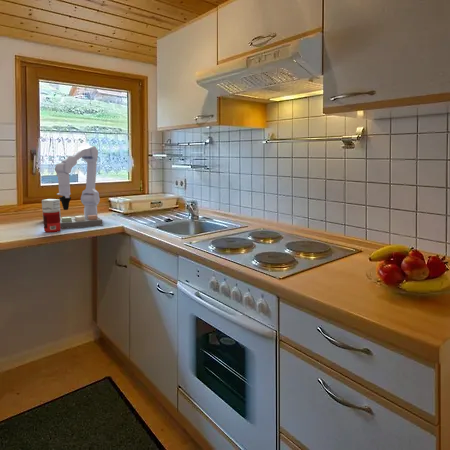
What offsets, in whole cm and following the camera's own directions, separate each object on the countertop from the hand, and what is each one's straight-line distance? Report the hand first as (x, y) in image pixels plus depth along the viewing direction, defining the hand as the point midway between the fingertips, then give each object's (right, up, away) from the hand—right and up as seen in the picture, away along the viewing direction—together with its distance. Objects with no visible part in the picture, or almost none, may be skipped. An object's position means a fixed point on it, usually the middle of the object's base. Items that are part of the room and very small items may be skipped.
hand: (65, 209), depth 217 cm
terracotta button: (+12, -6, +9) cm, 16 cm away
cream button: (+6, -6, +5) cm, 10 cm away
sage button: (0, -7, +1) cm, 7 cm away
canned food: (-2, -12, -12) cm, 17 cm away
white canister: (-17, -6, +21) cm, 27 cm away
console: (+6, -8, +5) cm, 12 cm away
